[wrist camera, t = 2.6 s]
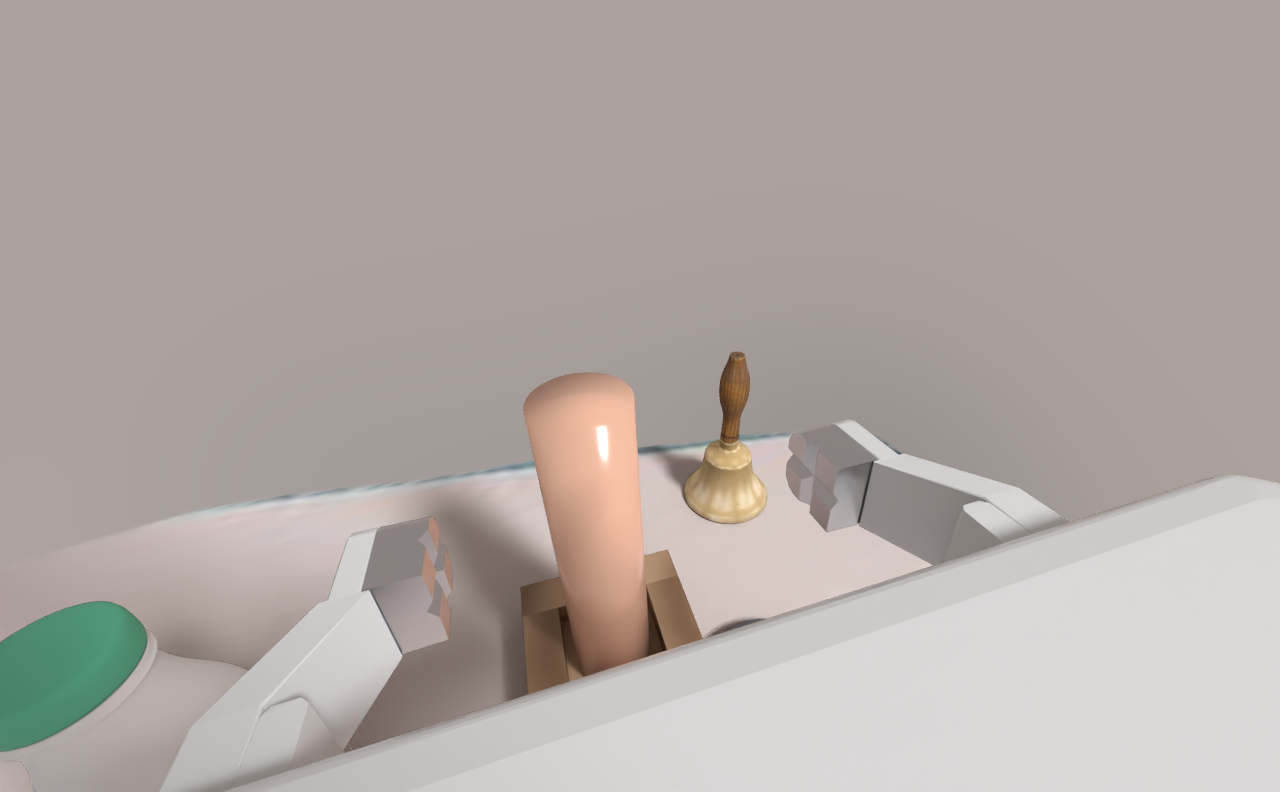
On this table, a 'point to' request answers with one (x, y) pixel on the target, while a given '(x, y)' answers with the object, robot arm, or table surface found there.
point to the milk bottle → (100, 700)
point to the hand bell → (728, 459)
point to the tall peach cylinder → (593, 512)
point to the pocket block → (552, 634)
